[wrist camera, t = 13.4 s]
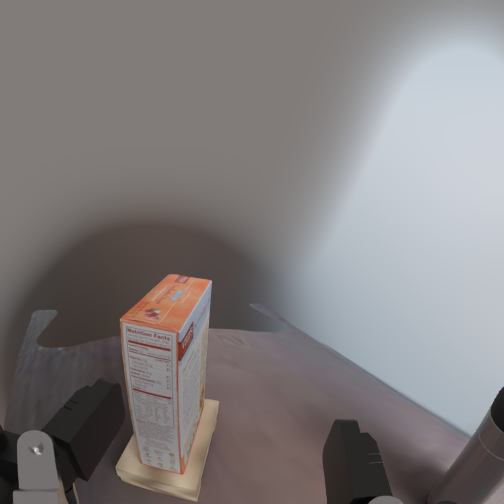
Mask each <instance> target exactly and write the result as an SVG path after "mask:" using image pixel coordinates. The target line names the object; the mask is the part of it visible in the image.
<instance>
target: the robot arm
mask: <svg viewBox="0 0 504 504" xmlns="http://www.w3.org/2000/svg"><path fill="white" fill-rule="evenodd" d="M124 417H125V410H124V404H123V399H122V393H121V387H120V384H119V383H116V382H113V381H110V380H107V379H104V378H100V379H98V380H97V381H96V383H95V384H94V385H93V386H92V387H89V386H86V387H84V388H82V389H80V390H78V391H76V392H75V393H74V395H73V396H72V397H71V398H70V399H69V401H67V402H66V403H65V405H64V407H62V408H61V409H60V410H59V411H58V412H57V414H56V415H55V416H54V417H53V418H52V419H51V420H50V421H49V423H48V424H47V425H46V426H45V427H44V428H43V429H42V430H41V431H37V430H32V431H28V432H25V433H24V434H22V435H18V434H14V433H11V432H7V431H4V430H3V429H2V427H1V425H0V504H12V503H13V502H14V504H80V503H79V499H78V495H77V491H76V487H75V484H74V482H75V480H76V479H77V477H79V478H81V479H83V480H85V481H88V480H89V478H90V476H91V475H92V473H93V471H94V470H95V468H96V466H97V465H98V463H99V462H100V460H101V458H102V457H103V455H104V453H105V452H106V450H107V448H108V447H109V445H110V444H111V442H112V440H113V439H114V437H115V435H116V434H117V432H118V431H119V429H120V427H121V426H122V424H123V421H124ZM323 468H324V476H325V485H326V495H327V504H403V502H401V501H400V500H399V499H397V498H395V497H393V495H392V493H391V490H390V486H389V483H388V479H387V476H386V473H385V469H384V466H383V463H382V459H381V456H380V455H379V450H378V447H377V443H376V441H375V440H374V439H373V438H372V437H371V436H370V434H369V433H360V429H359V425H358V422H357V421H356V420H335V422H334V424H333V426H332V428H331V431H330V433H329V436H328V438H327V440H326V443H325V445H324V449H323ZM503 483H504V387H503V388H502V389H501V390H500V391H499V393H498V395H497V397H496V398H495V400H494V402H493V404H492V406H491V407H490V409H489V411H488V412H487V414H486V416H485V417H484V419H483V421H482V422H481V424H480V426H479V427H478V429H477V430H476V432H475V433H474V435H473V436H472V438H471V439H470V441H469V442H468V444H467V445H466V447H465V448H464V449H463V451H462V452H461V454H460V455H459V456H458V458H457V459H456V460H455V462H454V463H453V464H452V466H451V467H450V468H449V469H448V471H447V472H446V473H445V474H444V476H443V477H442V478H441V479H440V480H439V482H438V483H437V484H436V485H435V486H434V488H433V489H432V490H431V491H430V493H429V495H428V498H427V504H484V503H485V502H486V501H487V500H488V499H489V498H490V497H491V496H492V495H493V494H494V493H495V492H496V491H497V490H498V489H499V488H500V487H501V486H502V484H503Z"/></svg>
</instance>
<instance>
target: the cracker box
mask: <svg viewBox="0 0 504 504" xmlns="http://www.w3.org/2000/svg"><path fill="white" fill-rule="evenodd" d="M211 285H212V281H211V280H206V279H198V278H192V277H186V276H182V275H175V274H173V275H172V274H169V275H168V276H167V277H166V278H165V279H164V280H162V281H161V282H160V283H159V284H158V285H157V286H156V287H155V288H154V289H152V290H151V291H150V292H149V293H148V294H147V295H146V296H145V297H144V298H143V299H142V300H140V301H139V302H138V303H137V304H136V305H135V306H134V307H133V308H131V309H130V310H129V311H128V312H127V313H126V314H125V315H124V316H122V317H121V319H120V331H121V343H122V355H123V364H124V373H125V381H126V388H127V395H128V402H129V408H130V414H131V420H132V425H133V431H134V436H135V440H136V446H137V450H138V455H139V459H140V463H141V464H144V465H148V466H151V467H155V468H158V469H162V470H166V471H170V472H174V473H178V474H182V475H183V474H184V472H185V469H186V465H187V462H188V459H189V455H190V452H191V448H192V445H193V442H194V438H195V435H196V432H197V428H198V425H199V422H200V418H201V415H202V411H203V408H204V395H205V374H206V356H207V340H208V325H209V312H210V300H211Z"/></svg>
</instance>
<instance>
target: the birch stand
mask: <svg viewBox="0 0 504 504" xmlns="http://www.w3.org/2000/svg"><path fill="white" fill-rule="evenodd" d="M218 408H219V401H215V400H210V399H204V408H203V411H202V415H201V418H200V422H199V425H198V428H197V432H196V435H195V438H194V442H193V445H192V448H191V452H190V455H189V459H188V462H187V465H186V469H185V472H184V474H183V475H182V474H178V473H174V472H170V471H166V470H162V469H158V468H155V467H151V466H148V465H144V464H141V463H140V459H139V455H138V450H137V446H136V440H135V436H134V434H133V436H132V437H131V439H130V441H129V443H128V445H127V447H126V448H125V450H124V452H123V454H122V456H121V458H120V459H119V461H118V463H117V465H116V467H115V469H116V472H117V475H118V476H120V477H121V480H122V481H124V482H127V483H130V484H133V485H136V486H139V487H142V488H145V489H148V490H152V491H155V492H159V493H162V494H166V495H170V496H174V497H178V498H182V499H187V500H191V501H196V502H197V499H198V495H199V491H200V487H201V477H202V473H203V469H204V465H205V461H206V457H207V453H208V449H209V445H210V441H211V437H212V433H213V432H214V431H215V427H216V422H217V416H218Z"/></svg>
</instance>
